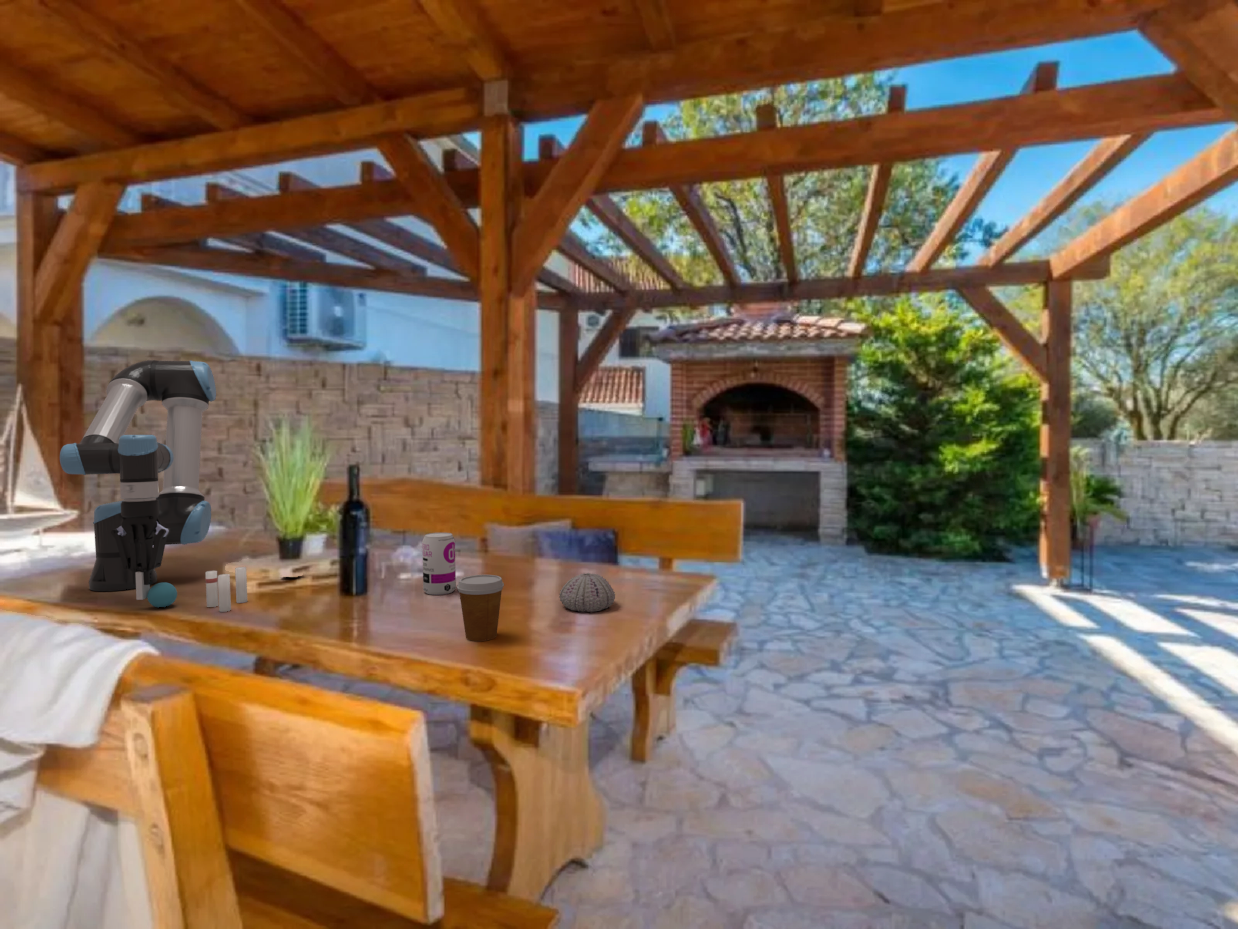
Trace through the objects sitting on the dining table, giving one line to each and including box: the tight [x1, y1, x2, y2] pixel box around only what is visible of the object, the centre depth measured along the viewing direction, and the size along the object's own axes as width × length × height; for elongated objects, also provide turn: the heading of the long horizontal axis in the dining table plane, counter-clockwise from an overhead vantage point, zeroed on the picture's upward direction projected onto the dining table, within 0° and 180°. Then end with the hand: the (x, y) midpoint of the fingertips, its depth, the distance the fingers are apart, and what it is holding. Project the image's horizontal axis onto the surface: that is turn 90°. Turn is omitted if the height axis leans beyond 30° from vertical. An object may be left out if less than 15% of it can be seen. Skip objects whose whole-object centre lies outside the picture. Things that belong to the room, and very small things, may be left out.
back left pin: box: [234, 566, 248, 604], centre depth 171 cm, size 2×2×8 cm
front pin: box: [204, 570, 219, 608], centre depth 167 cm, size 2×2×8 cm
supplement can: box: [421, 532, 457, 596], centre depth 180 cm, size 8×8×15 cm
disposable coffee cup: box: [456, 574, 505, 642], centre depth 142 cm, size 10×10×12 cm
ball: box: [146, 581, 178, 609], centre depth 166 cm, size 6×6×6 cm
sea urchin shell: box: [558, 572, 616, 613], centre depth 166 cm, size 13×14×8 cm
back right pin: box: [217, 573, 232, 613], centre depth 163 cm, size 2×2×8 cm
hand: (143, 598), depth 165 cm, fingers closed
